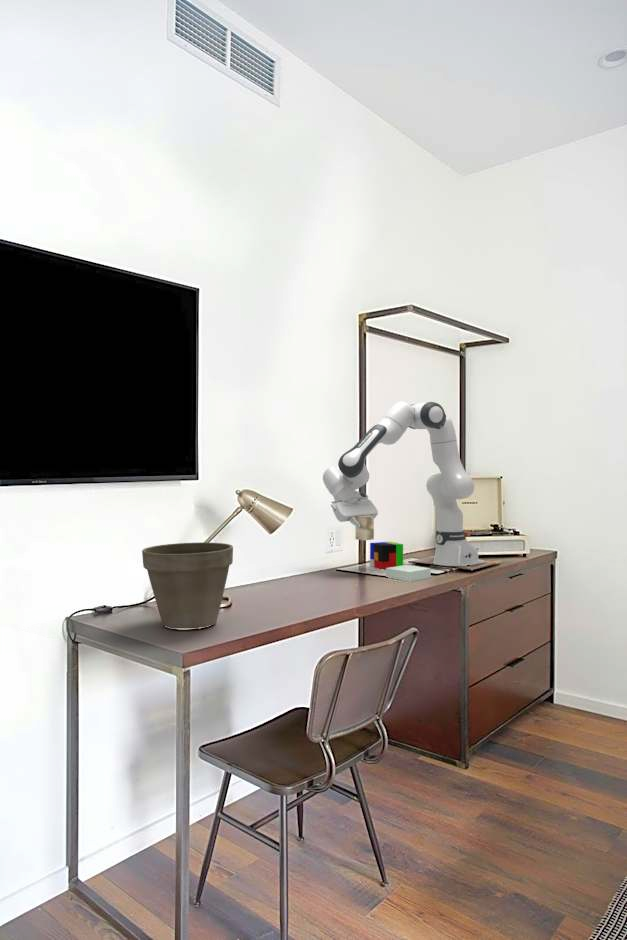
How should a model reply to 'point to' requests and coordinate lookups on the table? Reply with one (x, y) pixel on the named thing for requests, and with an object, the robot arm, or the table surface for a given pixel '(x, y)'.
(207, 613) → the plant pot
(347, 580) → the table surface
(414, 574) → the sage base block
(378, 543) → the puzzle toy
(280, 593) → the table surface
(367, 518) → the maple block
